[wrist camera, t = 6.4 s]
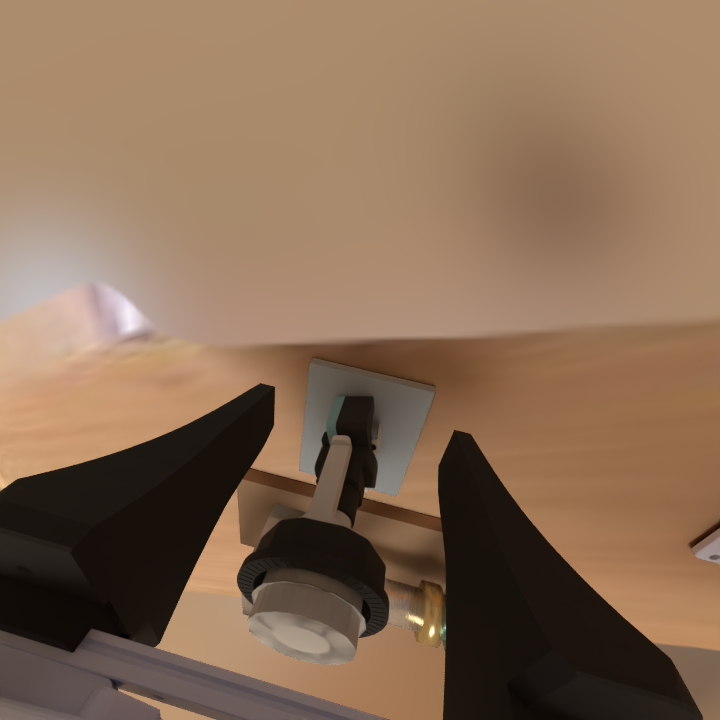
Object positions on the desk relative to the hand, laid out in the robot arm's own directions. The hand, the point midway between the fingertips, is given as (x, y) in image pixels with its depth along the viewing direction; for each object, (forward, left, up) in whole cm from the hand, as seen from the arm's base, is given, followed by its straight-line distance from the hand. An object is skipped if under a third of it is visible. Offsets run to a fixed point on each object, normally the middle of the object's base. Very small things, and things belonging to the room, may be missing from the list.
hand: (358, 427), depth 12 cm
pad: (0, +5, -5) cm, 7 cm away
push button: (0, +5, -5) cm, 7 cm away
